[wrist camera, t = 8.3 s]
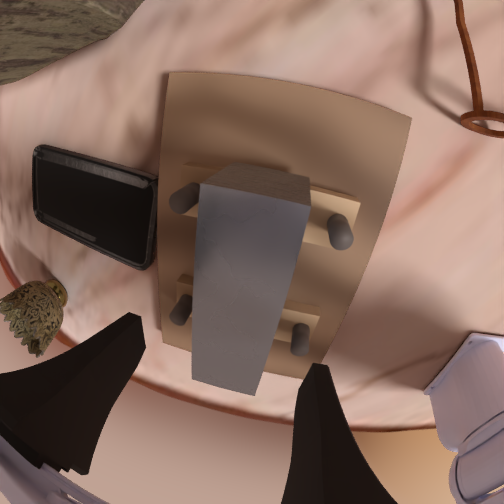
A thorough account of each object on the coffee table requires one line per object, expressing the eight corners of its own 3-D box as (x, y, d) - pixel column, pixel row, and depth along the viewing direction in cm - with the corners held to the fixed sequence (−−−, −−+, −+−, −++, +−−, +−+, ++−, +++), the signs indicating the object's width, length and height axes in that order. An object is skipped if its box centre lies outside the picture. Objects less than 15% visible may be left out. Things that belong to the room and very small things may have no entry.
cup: (52, 253, 23) (2, 293, 16) (91, 307, 26) (48, 355, 19) (34, 274, 26) (-6, 309, 19) (67, 320, 28) (31, 359, 21)
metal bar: (266, 340, 19) (254, 396, 15) (214, 327, 20) (191, 379, 15) (309, 177, 14) (311, 206, 9) (234, 161, 14) (200, 183, 10)
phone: (33, 144, 17) (161, 181, 17) (41, 142, 18) (169, 177, 18) (34, 219, 21) (148, 276, 21) (41, 215, 22) (154, 268, 22)
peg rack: (311, 370, 23) (308, 407, 20) (167, 334, 25) (149, 365, 21) (404, 117, 13) (434, 119, 9) (178, 74, 14) (142, 65, 10)
